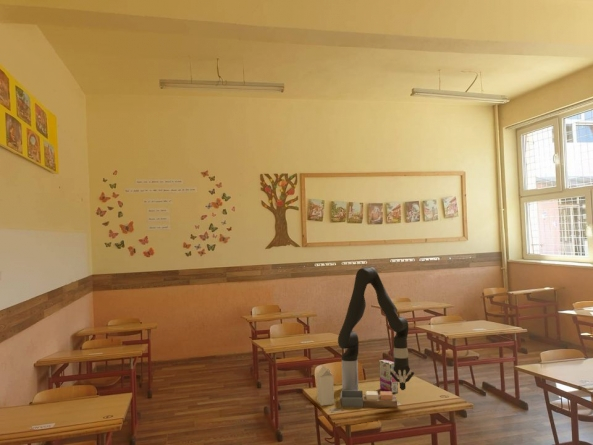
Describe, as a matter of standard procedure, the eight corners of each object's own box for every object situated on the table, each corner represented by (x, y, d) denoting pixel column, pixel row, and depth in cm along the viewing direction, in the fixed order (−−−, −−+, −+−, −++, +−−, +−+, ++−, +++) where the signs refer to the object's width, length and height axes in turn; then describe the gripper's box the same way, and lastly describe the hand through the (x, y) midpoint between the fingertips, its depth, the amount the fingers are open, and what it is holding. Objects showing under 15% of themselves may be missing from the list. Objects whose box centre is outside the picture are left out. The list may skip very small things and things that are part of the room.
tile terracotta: (380, 395, 245) (380, 391, 245) (391, 396, 244) (391, 391, 244) (380, 399, 239) (380, 394, 239) (392, 399, 238) (392, 394, 238)
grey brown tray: (363, 399, 248) (363, 394, 248) (395, 400, 246) (395, 394, 246) (363, 406, 237) (363, 400, 237) (397, 407, 235) (397, 401, 235)
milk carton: (321, 406, 240) (320, 369, 241) (317, 401, 247) (316, 366, 248) (334, 404, 242) (333, 367, 243) (329, 400, 249) (328, 364, 250)
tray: (341, 399, 251) (341, 390, 251) (362, 399, 249) (362, 390, 249) (340, 407, 238) (340, 397, 238) (363, 407, 236) (362, 398, 237)
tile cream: (366, 395, 246) (365, 391, 246) (377, 395, 245) (377, 391, 245) (366, 399, 240) (366, 394, 240) (378, 399, 239) (377, 394, 239)
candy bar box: (398, 392, 259) (397, 363, 260) (391, 394, 257) (390, 364, 258) (386, 387, 269) (385, 359, 270) (379, 388, 267) (378, 360, 268)
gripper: (413, 354, 244) (414, 387, 243) (387, 354, 246) (389, 387, 245) (414, 357, 237) (416, 391, 236) (388, 357, 239) (390, 391, 237)
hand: (402, 389), depth 240 cm, fingers closed
